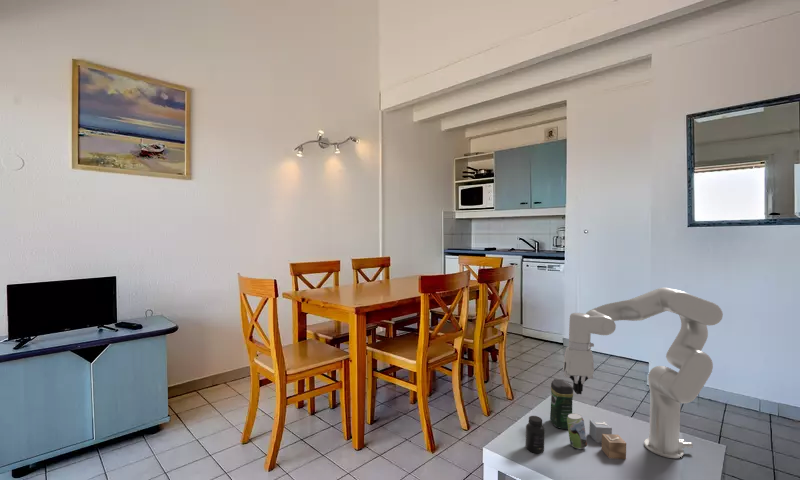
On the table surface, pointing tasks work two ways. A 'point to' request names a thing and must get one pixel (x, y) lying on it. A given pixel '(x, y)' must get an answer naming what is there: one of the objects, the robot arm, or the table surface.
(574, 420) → the beverage can
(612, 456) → the walnut digit block
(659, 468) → the table surface
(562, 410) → the coffee jar
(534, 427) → the supplement bottle
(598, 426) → the slate digit block
